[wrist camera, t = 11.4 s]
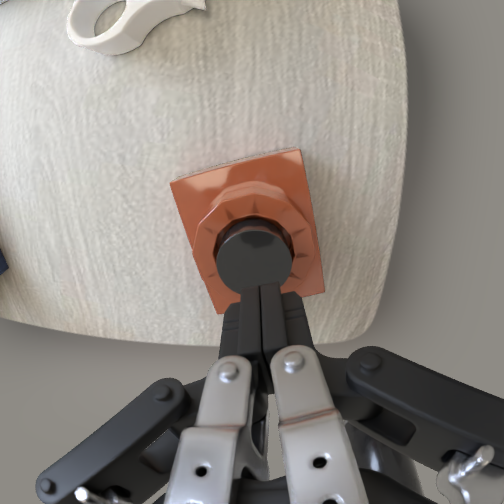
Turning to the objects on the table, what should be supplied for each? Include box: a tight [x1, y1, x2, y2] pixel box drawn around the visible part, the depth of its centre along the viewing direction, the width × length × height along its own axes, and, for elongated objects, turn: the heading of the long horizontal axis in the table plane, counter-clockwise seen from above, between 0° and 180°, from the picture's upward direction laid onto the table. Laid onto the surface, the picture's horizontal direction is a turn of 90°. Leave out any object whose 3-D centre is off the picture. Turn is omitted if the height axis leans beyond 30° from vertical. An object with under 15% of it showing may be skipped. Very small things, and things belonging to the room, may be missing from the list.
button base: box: [170, 147, 325, 314], centre depth 17 cm, size 10×8×4 cm
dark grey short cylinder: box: [216, 219, 292, 295], centre depth 15 cm, size 4×4×2 cm
